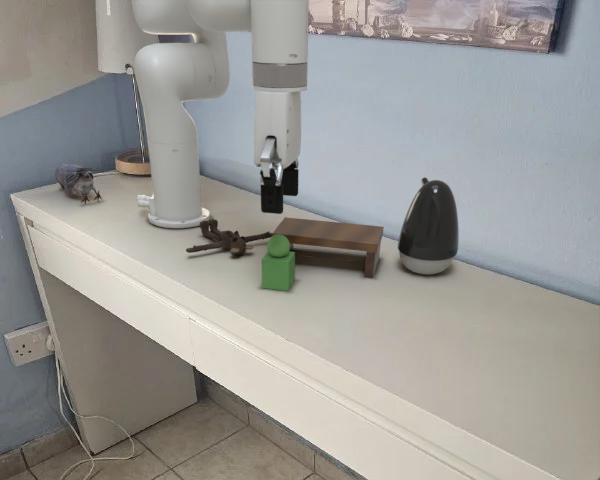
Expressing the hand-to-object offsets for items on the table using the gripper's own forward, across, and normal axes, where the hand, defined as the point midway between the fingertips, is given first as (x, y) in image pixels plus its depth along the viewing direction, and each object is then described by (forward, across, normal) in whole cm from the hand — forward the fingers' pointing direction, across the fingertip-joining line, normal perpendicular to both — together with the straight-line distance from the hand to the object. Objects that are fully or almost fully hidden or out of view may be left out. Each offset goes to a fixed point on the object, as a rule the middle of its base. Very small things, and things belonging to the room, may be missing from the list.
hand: (280, 203), depth 94 cm
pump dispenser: (+14, -14, +22) cm, 30 cm away
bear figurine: (+13, -15, -14) cm, 24 cm away
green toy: (+13, 0, 0) cm, 13 cm away
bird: (+12, -35, -56) cm, 67 cm away
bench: (+13, -12, +6) cm, 19 cm away
